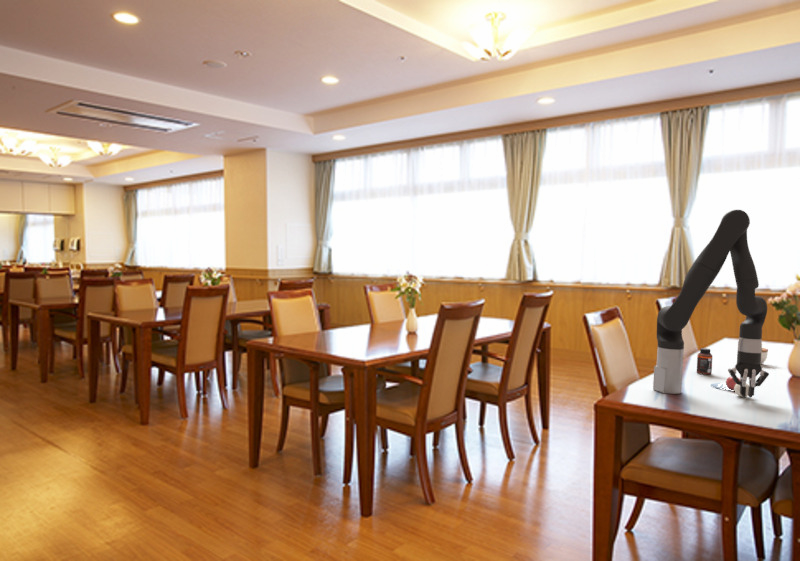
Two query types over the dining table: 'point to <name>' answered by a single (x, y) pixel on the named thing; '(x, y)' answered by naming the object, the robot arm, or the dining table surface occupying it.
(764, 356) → the lidded jar
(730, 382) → the red ball
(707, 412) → the dining table surface
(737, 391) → the cue ball
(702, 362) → the supplement bottle
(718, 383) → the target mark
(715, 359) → the dining table surface
